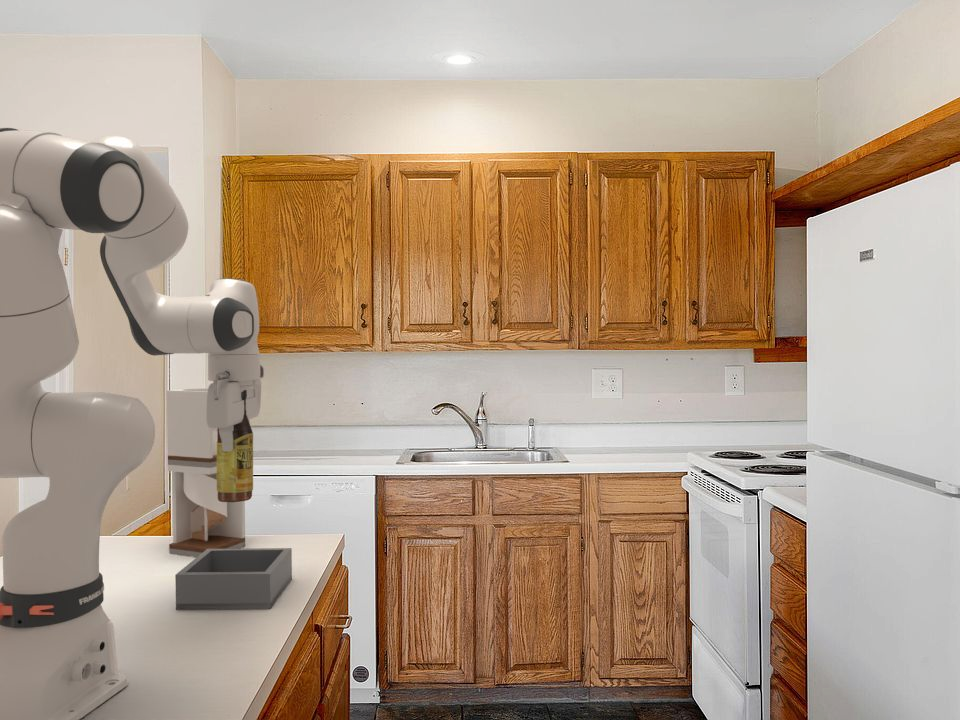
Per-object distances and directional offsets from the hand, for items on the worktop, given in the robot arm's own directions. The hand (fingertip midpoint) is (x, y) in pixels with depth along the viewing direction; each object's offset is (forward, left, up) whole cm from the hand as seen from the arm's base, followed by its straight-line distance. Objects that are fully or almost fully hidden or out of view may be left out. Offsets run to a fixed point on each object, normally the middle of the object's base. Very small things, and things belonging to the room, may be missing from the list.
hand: (235, 447), depth 138 cm
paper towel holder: (+29, +15, -27) cm, 42 cm away
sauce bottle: (0, 0, -10) cm, 10 cm away
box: (0, 0, -26) cm, 26 cm away
